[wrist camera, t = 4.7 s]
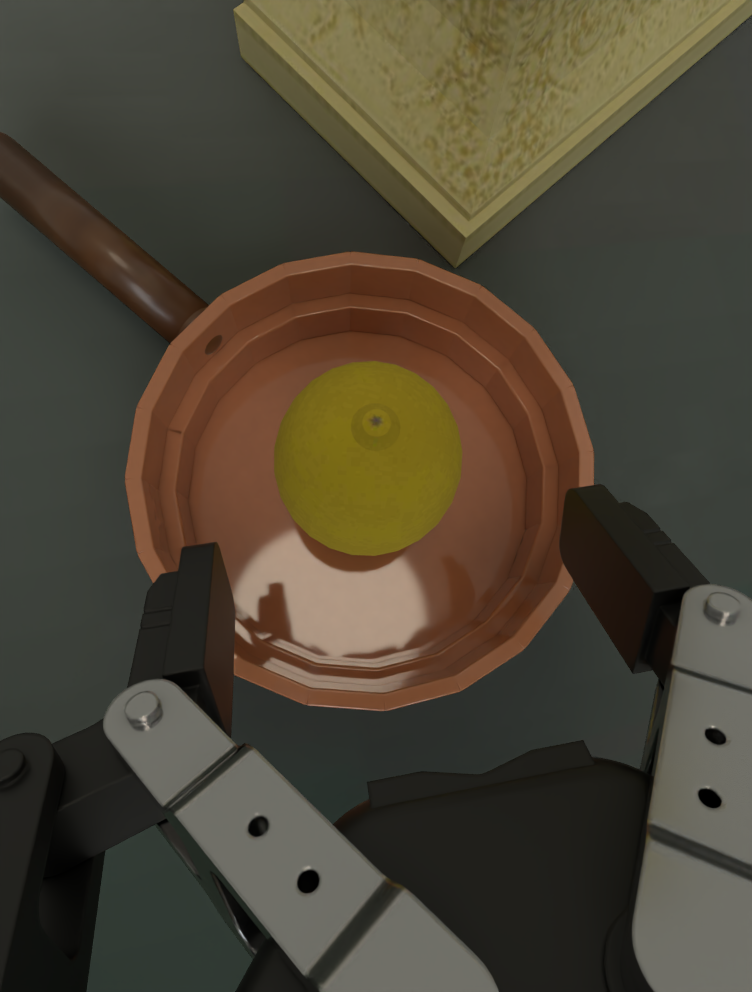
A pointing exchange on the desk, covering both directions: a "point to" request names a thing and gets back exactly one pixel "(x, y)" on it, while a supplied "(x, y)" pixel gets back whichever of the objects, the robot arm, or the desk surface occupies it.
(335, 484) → the lemon
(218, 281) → the desk surface
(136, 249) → the pan handle
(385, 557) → the pan
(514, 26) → the decorative clock
